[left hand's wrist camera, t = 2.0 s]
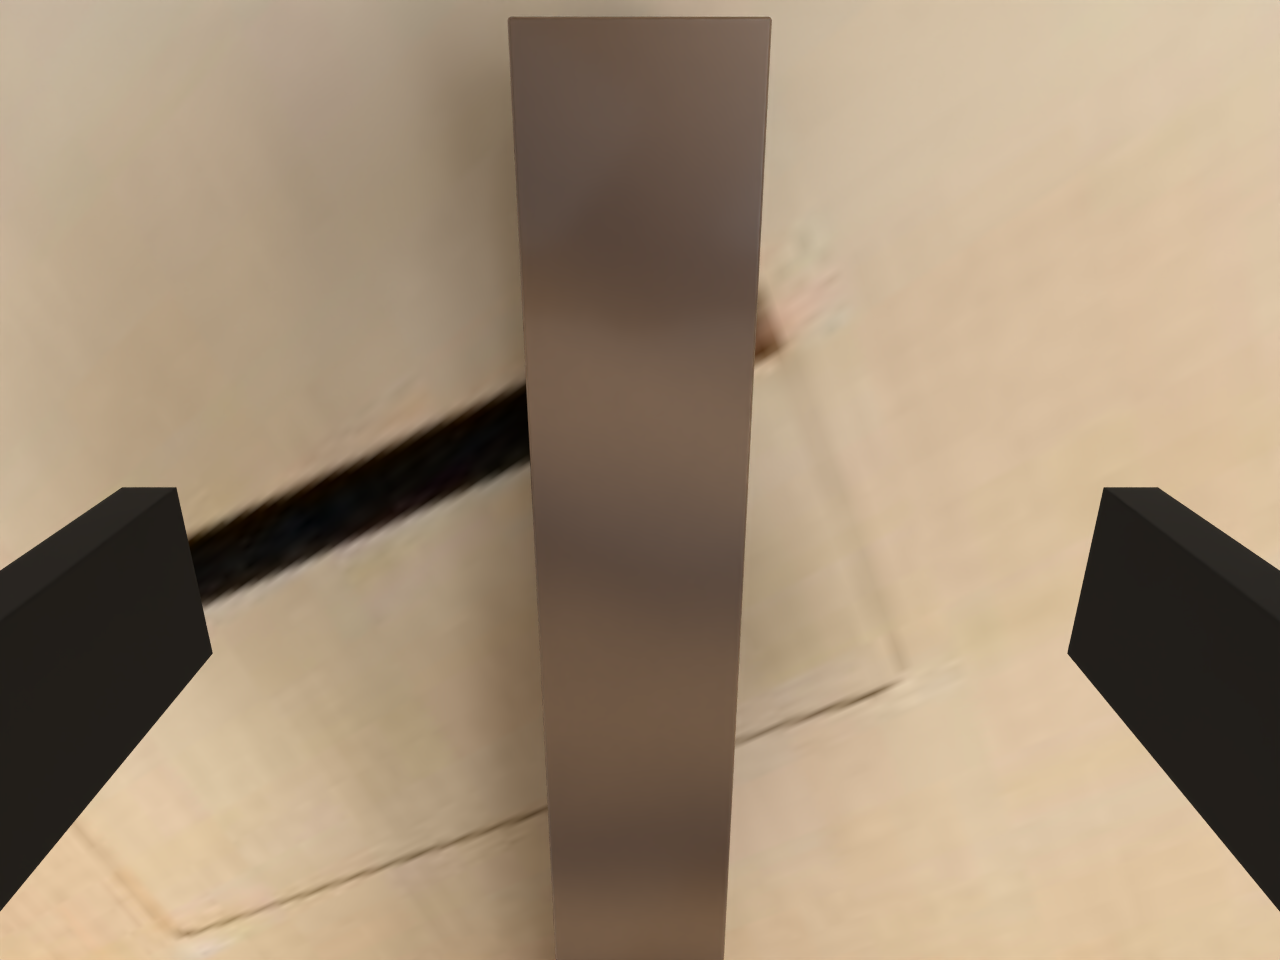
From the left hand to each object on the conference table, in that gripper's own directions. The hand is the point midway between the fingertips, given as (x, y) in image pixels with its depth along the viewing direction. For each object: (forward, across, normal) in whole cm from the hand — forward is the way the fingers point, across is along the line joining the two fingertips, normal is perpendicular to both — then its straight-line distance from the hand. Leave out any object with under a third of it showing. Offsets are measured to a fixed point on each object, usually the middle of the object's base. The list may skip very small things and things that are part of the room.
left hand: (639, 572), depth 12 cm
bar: (+15, 0, -29) cm, 33 cm away
